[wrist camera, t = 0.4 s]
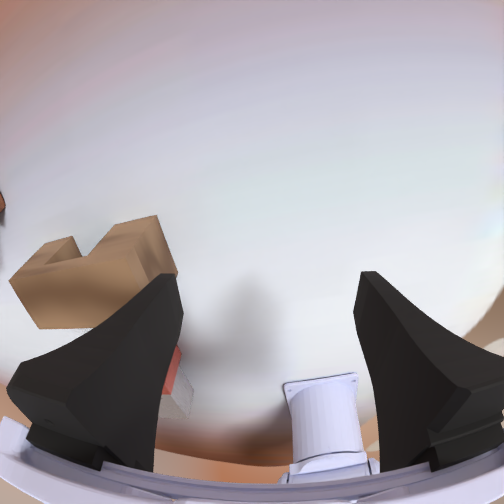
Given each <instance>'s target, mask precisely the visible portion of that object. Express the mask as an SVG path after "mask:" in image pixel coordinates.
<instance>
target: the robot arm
mask: <svg viewBox="0 0 504 504" xmlns="http://www.w3.org/2000/svg"><path fill="white" fill-rule="evenodd" d="M183 314H184V313H183V308H182V304H181V300H180V295H179V291H178V286H177V281H176V277H175V273H160V274H159V275H158V276H157V277H155V278H154V279H153V280H152V281H151V282H150V283H149V284H147V285H146V286H145V287H144V288H143V289H142V290H141V291H140V292H139V293H137V294H136V295H135V296H134V297H133V298H132V299H131V300H130V301H128V302H127V303H126V304H125V305H124V306H122V307H121V308H120V309H119V310H117V311H116V312H115V313H114V314H113V315H111V316H110V317H109V318H108V319H106V320H105V321H103V322H102V323H101V324H99V325H98V326H96V327H95V328H93V329H92V330H90V331H89V332H87V333H85V334H84V335H82V336H80V337H78V338H77V339H75V340H73V341H72V342H70V343H68V344H66V345H64V346H62V347H60V348H58V349H56V350H53V351H51V352H49V353H46V354H44V355H41V356H39V357H36V358H33V359H30V360H27V361H24V362H21V363H20V365H19V367H18V368H17V370H16V372H15V373H14V375H13V377H12V378H11V380H10V382H9V384H8V386H7V387H6V389H7V394H8V395H9V397H10V399H11V400H12V402H13V403H14V404H15V405H16V406H17V407H18V408H19V409H20V411H21V412H22V413H23V414H24V415H25V416H26V417H27V418H28V419H29V420H30V421H31V422H32V425H31V427H30V429H29V428H28V427H26V426H25V425H23V424H21V423H19V422H17V421H15V420H13V419H11V418H9V417H7V416H4V417H3V419H2V421H1V423H0V478H2V479H4V480H5V481H7V482H8V483H10V484H11V485H13V486H15V487H16V488H18V489H20V490H21V491H23V492H25V493H26V494H28V495H30V496H32V497H33V498H35V499H37V500H39V501H41V502H43V503H45V504H489V503H491V502H493V501H495V500H496V499H498V498H500V497H502V496H504V428H502V426H501V422H502V421H503V420H504V416H503V414H502V410H503V409H504V357H502V356H499V355H496V354H494V353H491V352H489V351H486V350H484V349H482V348H480V347H477V346H475V345H474V344H471V343H470V342H467V341H466V340H464V339H462V338H461V337H459V336H457V335H455V334H454V333H452V332H450V331H449V330H447V329H446V328H444V327H443V326H441V325H440V324H438V323H437V322H435V321H434V320H433V319H431V318H430V317H429V316H427V315H426V314H425V313H424V312H422V311H421V310H420V309H419V308H417V307H416V306H415V305H414V304H413V303H411V302H410V301H409V300H408V299H407V298H406V297H404V296H403V295H402V294H401V293H400V292H399V291H398V290H397V289H396V288H394V287H393V286H392V285H391V284H390V283H389V282H388V281H387V280H386V279H384V278H383V277H382V276H381V275H380V274H379V273H377V272H376V271H364V272H361V275H360V281H359V286H358V291H357V296H356V301H355V306H354V310H353V314H354V320H355V325H356V331H357V335H358V338H359V341H360V345H361V348H362V351H363V354H364V358H365V361H366V364H367V367H368V371H369V374H370V377H371V381H372V386H373V391H374V397H375V404H376V411H377V420H378V431H379V448H380V462H379V461H377V460H375V459H374V458H369V459H368V462H367V455H366V452H364V449H363V443H362V437H361V432H360V426H359V420H358V415H357V409H356V396H357V386H358V374H357V373H352V374H346V375H341V376H335V377H329V378H322V379H316V380H309V381H301V382H293V383H286V384H285V385H284V390H285V395H286V399H287V403H288V407H289V411H290V414H291V418H292V434H293V464H290V465H289V472H286V473H284V474H283V475H282V477H281V478H280V479H279V480H278V483H277V484H250V483H229V482H215V481H205V480H195V479H188V478H181V477H175V476H169V475H163V474H157V473H153V466H154V465H153V464H154V448H155V437H156V428H157V420H158V413H159V407H160V401H161V396H162V390H163V386H164V382H165V378H166V375H167V372H168V369H169V366H170V363H171V360H172V357H173V354H174V351H175V348H176V344H177V341H178V338H179V335H180V330H181V325H182V319H183ZM170 498H171V499H177V500H175V501H174V502H173V501H172V500H171V499H170Z"/></svg>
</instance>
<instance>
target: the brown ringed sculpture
mask: <svg viewBox="0 0 504 504" xmlns="http://www.w3.org/2000/svg"><path fill="white" fill-rule="evenodd" d="M4 208H5V203H4V200H3V198H2V196H1V194H0V212H1V211H2V210H3V209H4Z"/></svg>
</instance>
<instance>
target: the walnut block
mask: <svg viewBox="0 0 504 504" xmlns="http://www.w3.org/2000/svg"><path fill="white" fill-rule="evenodd" d="M160 273H175V277H176V276H177V274H178V271H177V268H176V266H175V263H174V261H173V258H172V255H171V253H170V250H169V248H168V245H167V242H166V240H165V237H164V234H163V231H162V229H161V226H160V223H159V220H158V218H157V215H154V216H149V217H145V218H141V219H137V220H132V221H128V222H124V223H120V224H116V225H114V226H113V227H112V228H111V229H110V231H109V232H108V233H107V234H106V235H105V236H104V237H103V238H102V239H101V241H100V242H99V243H98V244H97V245H96V246H95V248H94V249H93V250H92V251H91V252H90V253H89V255H88V256H84V257H82V255H81V253H80V251H79V249H78V247H77V245H76V243H75V241H74V238H73V236H70V237H66V238H63V239H59V240H56V241H52V242H49V243H45V244H44V245H43V246H42V247H41V248H40V249H39V250H38V251H37V252H36V253H35V254H34V255H33V256H32V257H31V258H30V259H29V260H28V261H27V262H26V263H25V264H24V265H23V266H22V267H21V268H20V269H19V270H18V271H17V272H16V273H15V274H14V275H13V276H12V277H11V279H10V280H9V282H10V284H11V286H12V288H13V289H14V291H15V293H16V294H17V296H18V298H19V299H20V301H21V302H22V304H23V306H24V307H25V309H26V310H27V312H28V313H29V315H30V316H31V318H32V319H33V321H34V322H35V324H36V325H37V327H38V328H39V329H73V328H95V327H96V326H98V325H99V324H101V323H102V322H103V321H105V320H106V319H108V318H109V317H110V316H111V315H113V314H114V313H115V312H116V311H117V310H119V309H120V308H121V307H122V306H124V305H125V304H126V303H127V302H128V301H130V300H131V299H132V298H133V297H134V296H135V295H136V294H137V293H139V292H140V291H141V290H142V289H143V288H144V287H145V286H146V285H147V284H149V283H150V282H151V281H152V280H153V279H154V278H155V277H157V276H158V275H159V274H160Z"/></svg>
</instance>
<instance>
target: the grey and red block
mask: <svg viewBox="0 0 504 504" xmlns="http://www.w3.org/2000/svg"><path fill="white" fill-rule="evenodd" d="M180 358H181V352H180V350H179V348H178V346H177V345H176V348H175V351H174V354H173V357H172V360H171V363H170V366H169V369H168V372H167V375H166V378H165V382H164V386H163V390H162V396H161V401H160V407H159V413H158V416H159V417H160V418H174V419H189V414H190V408H191V403H192V398H193V393H194V389H193V387H192V386H191V384H190V383H189V381H188V379H187V378H186V376H185V374H184V373H183V371H182V370H181V368H180V366H179V362H180Z"/></svg>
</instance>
